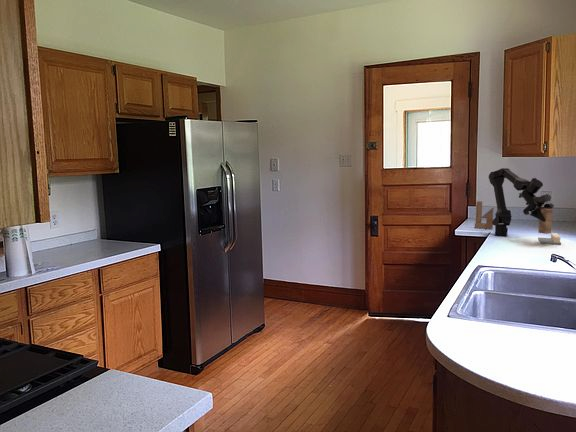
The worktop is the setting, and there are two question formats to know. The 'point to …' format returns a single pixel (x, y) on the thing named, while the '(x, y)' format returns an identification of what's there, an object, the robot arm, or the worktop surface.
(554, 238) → the stand
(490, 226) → the wooden angular frame
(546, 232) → the post
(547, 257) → the worktop surface
